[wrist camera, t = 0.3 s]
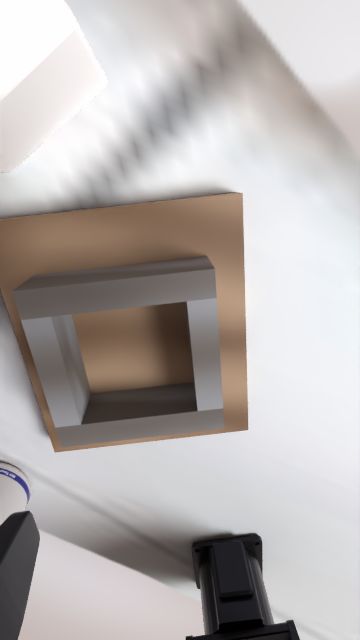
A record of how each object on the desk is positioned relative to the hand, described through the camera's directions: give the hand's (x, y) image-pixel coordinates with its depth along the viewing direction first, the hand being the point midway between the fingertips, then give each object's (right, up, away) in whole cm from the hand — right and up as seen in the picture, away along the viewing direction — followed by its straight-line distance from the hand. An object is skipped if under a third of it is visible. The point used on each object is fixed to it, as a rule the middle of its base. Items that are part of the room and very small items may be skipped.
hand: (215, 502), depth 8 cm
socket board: (-4, +4, +14) cm, 15 cm away
